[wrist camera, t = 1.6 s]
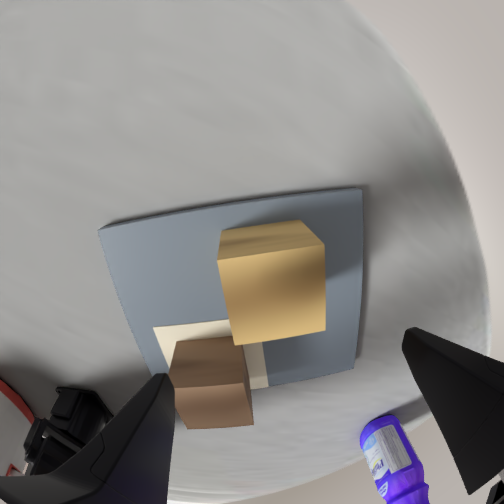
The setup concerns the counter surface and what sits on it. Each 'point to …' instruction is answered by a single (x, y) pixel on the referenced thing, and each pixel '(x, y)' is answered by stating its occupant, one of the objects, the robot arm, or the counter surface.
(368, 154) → the counter surface
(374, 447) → the bottle
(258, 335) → the ochre block
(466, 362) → the robot arm
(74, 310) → the counter surface
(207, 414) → the walnut block
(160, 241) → the board
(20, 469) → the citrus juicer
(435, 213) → the counter surface
